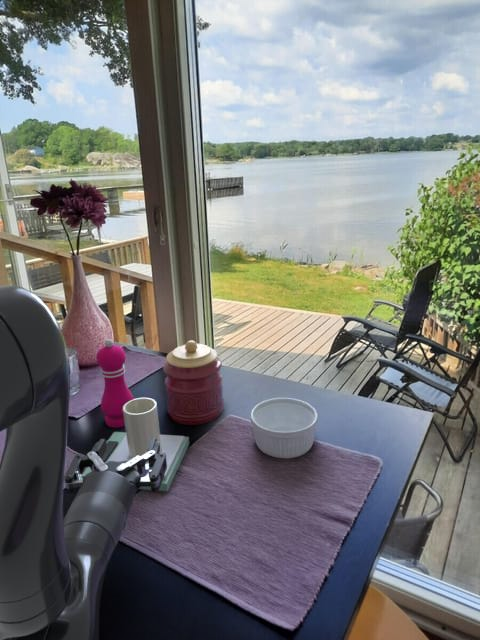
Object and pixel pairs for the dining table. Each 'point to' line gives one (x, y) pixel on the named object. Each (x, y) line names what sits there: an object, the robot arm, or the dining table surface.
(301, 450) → the ramekin
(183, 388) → the kitchen canister
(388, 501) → the dining table surface
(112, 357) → the pepper mill
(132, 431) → the cup
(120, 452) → the scale
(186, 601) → the dining table surface
